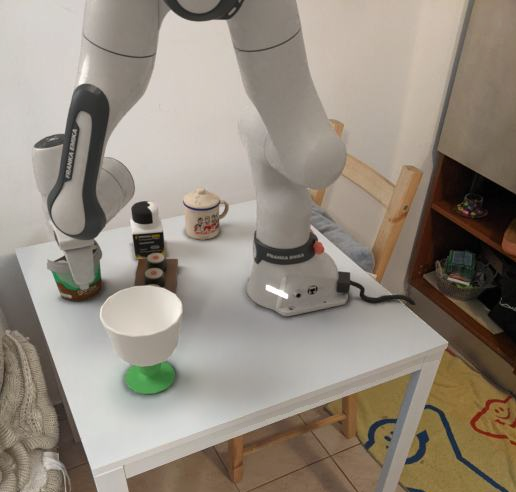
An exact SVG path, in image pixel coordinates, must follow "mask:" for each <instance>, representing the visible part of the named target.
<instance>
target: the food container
mask: <svg viewBox="0 0 516 492" xmlns="http://www.w3.org/2000/svg"><path fill="white" fill-rule="evenodd" d="M92 252H93V262H94V275H95V276H94V281H93V282H91V283H88V284H89V288H88V289H84V290H81V289H80V286H79V285H77V284H76V283H75V281H74V279H73V276H72V273H71V271H70V268H69V265H68V262H67V260H66V257H65V255H64V254H63V255H62V256H61V257H59V258H57V259H55V260H50V259H48V258H47V259H46V260H47V262H46V269H47V270H49V271H51V274H52V277H53V279H54V282H55V284H56V287H57V289H58V292H59V294H60V297H61V299H63V300H65V301H70V302H83V301H87V300H90V299H93V298H94V297H97V296H98V295H99V294H100V293H101V291H102V289H103V281H102V269H101V260H102V258H103V251H102V249H101V247H100V245H99V243H98V241H97V240H96V239H94V245H92Z"/></svg>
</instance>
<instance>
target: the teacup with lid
mask: <svg viewBox="0 0 516 492" xmlns="http://www.w3.org/2000/svg"><path fill="white" fill-rule="evenodd" d="M182 203H183V207H184V208H183V209H184V226H185V233H186V235H187V236H188V237H189V238H192V239H195V240H202V241H203V240H210V239H213V238H215V237H216V236H218V234H219V233H220V220H223V219H224V218H225V217H226V216H227V214H228V213H229V210H230V206H229V205H230V204H229V203H228V202H227V201H226V200H224V199H221V198H220V197H219V195H218V194H216V192H213V191H210V190H206V189H205V187H198V188H197V190H194V191H190V192H188V193H187V194H185V196H184V197H183V199H182ZM220 205H224V210H223V211H222V213H221V214H220Z"/></svg>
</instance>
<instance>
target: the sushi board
mask: <svg viewBox="0 0 516 492" xmlns="http://www.w3.org/2000/svg"><path fill="white" fill-rule="evenodd" d="M178 273H179V259H178V258H167V256H166V254H165V255H164V254H161V253H152V254H149V255H148V256H147V257H146V258H142V259H137V266H136V271H135V277H134V282H133V287H134V286H155V287H160V288H165V289H167V290H168V291H170V292H172V293H174V294H176V295H177V283H178V282H177V281H178Z"/></svg>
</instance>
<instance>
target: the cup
mask: <svg viewBox="0 0 516 492" xmlns="http://www.w3.org/2000/svg"><path fill="white" fill-rule="evenodd" d="M183 306H184V305H183V302H182V300H181V299H180V298H179V297H178V295H177V293H176V294H174V293H172V292H170V291H168V290H167V289H165V288H160V287H155V286H134V285H133V286H131V287H127V288H124V289H121V290H118V291H117V292H115V293H114V294H111V295H110V296H108V297H107V298H106V300H105V301H104V302H103V304H102V305H101V307H100V309H99V310H100V311H99V319H100V321H101V323H102V325H103V328H104V330H105V332H106V334H107V336H108V339H109V341H110V343H111V345H112V347H113V348H114V351H115V352H116V354H117V355H118V357H119V358H120V359H121V360H123V361H124V362H126V363H127V364H129V365H132V366H130V367H129V368H128V370H127V372H126V374H125V383H126V385H127V386H128V388H129V389H130V390H131V391H133V392H135V393H137V394H141V395H155V394H158V393H160V392H163V391H165V390H167V389H168V388H170V387H171V386H172V384H173V383H174V381H175V379H176V372H175V369H174V367H173V366H172V365H171V364H170V363H169V362H167V361H166V360H167V359H168V358H170V357H171V356H172V355H173V353H174V351H175V350H176V348H177V346H178V342H179V335H180V332H181V331H180V330H181V326H182V320H183V314H184V308H183Z"/></svg>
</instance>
